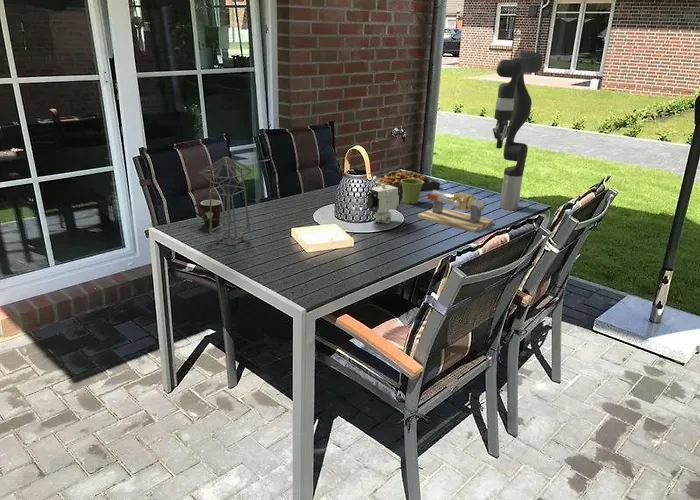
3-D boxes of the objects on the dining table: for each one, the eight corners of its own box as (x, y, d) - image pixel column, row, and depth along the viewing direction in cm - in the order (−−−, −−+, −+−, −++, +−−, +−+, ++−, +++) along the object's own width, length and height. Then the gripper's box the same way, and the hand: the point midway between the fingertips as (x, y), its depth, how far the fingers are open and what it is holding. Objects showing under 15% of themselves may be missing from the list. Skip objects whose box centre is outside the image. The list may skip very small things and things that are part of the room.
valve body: (435, 209, 269) (437, 186, 264) (483, 222, 253) (486, 197, 249) (426, 213, 263) (428, 189, 259) (475, 226, 248) (478, 201, 243)
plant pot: (425, 201, 287) (427, 180, 283) (415, 206, 278) (417, 185, 274) (405, 197, 293) (407, 177, 289) (395, 202, 284) (396, 181, 280)
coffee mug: (226, 223, 245) (224, 201, 241) (213, 228, 237) (212, 206, 234) (205, 219, 249) (203, 197, 245) (192, 224, 242) (190, 202, 238)
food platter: (366, 195, 296) (367, 177, 292) (349, 184, 317) (350, 166, 314) (439, 190, 312) (440, 172, 308) (418, 179, 333) (420, 163, 330)
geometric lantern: (256, 238, 228) (254, 155, 214) (234, 251, 215) (230, 164, 201) (225, 231, 234) (220, 150, 220) (201, 244, 220) (195, 158, 207)
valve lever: (460, 207, 250) (429, 198, 259) (461, 201, 249) (430, 192, 258) (458, 208, 249) (427, 199, 258) (459, 202, 248) (428, 193, 257)
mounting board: (437, 209, 275) (438, 206, 274) (493, 223, 257) (493, 220, 257) (418, 217, 262) (418, 214, 261) (474, 232, 244) (475, 229, 244)
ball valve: (372, 228, 245) (374, 189, 239) (361, 222, 251) (362, 185, 245) (402, 221, 255) (405, 184, 249) (390, 216, 262) (393, 180, 255)
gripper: (502, 106, 246) (497, 145, 253) (489, 108, 237) (484, 148, 243) (518, 108, 242) (513, 147, 248) (505, 110, 232) (500, 151, 239)
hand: (499, 148), depth 246 cm, fingers closed
